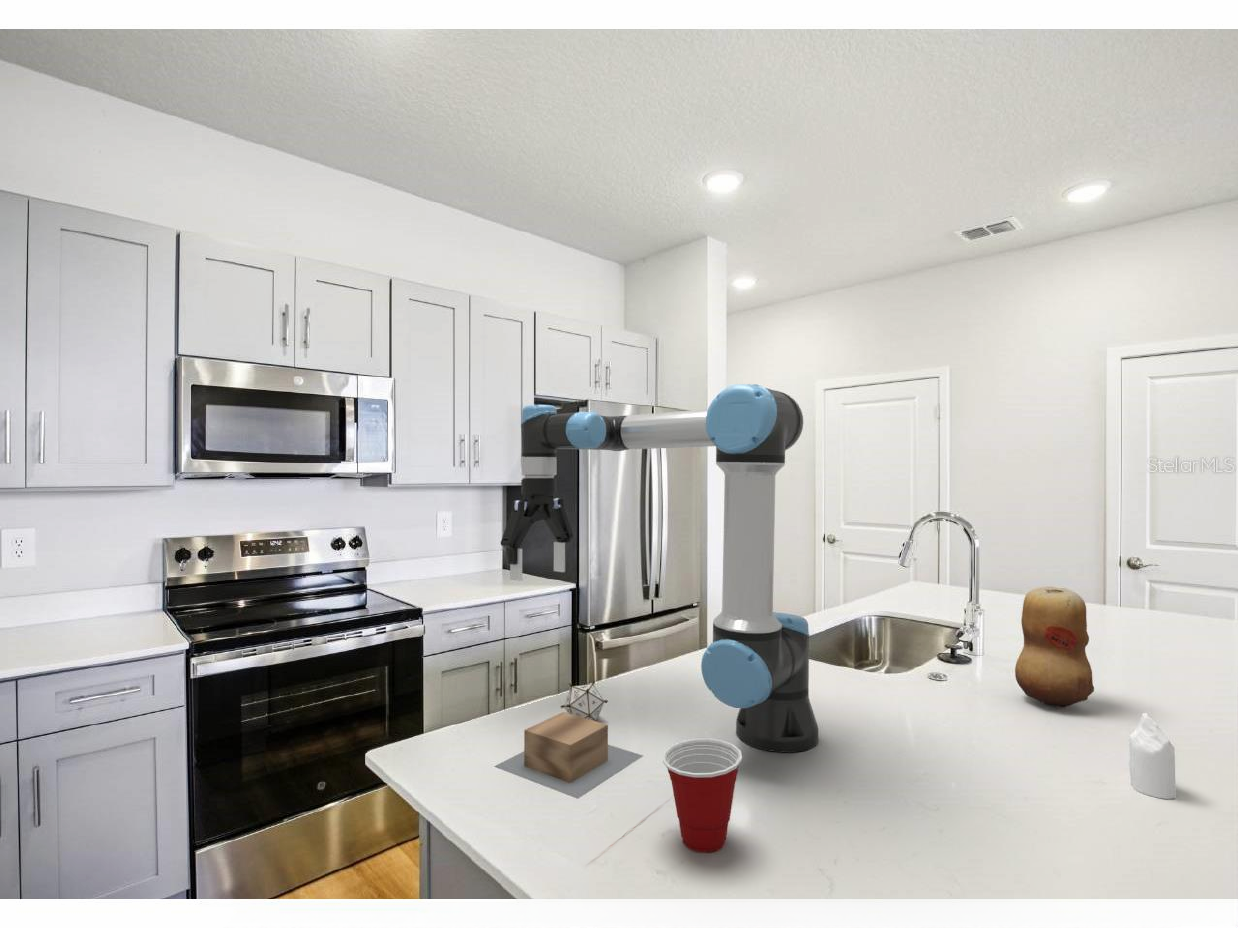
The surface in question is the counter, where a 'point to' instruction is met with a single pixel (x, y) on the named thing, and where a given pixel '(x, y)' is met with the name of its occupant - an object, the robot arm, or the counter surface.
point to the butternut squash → (1054, 648)
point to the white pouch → (1152, 760)
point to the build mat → (583, 784)
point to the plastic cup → (703, 789)
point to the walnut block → (566, 746)
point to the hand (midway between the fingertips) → (538, 575)
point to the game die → (584, 701)
